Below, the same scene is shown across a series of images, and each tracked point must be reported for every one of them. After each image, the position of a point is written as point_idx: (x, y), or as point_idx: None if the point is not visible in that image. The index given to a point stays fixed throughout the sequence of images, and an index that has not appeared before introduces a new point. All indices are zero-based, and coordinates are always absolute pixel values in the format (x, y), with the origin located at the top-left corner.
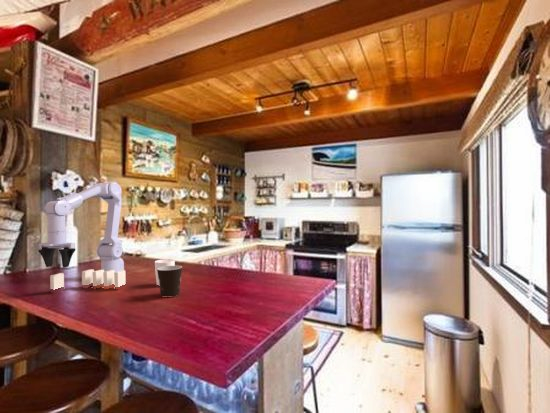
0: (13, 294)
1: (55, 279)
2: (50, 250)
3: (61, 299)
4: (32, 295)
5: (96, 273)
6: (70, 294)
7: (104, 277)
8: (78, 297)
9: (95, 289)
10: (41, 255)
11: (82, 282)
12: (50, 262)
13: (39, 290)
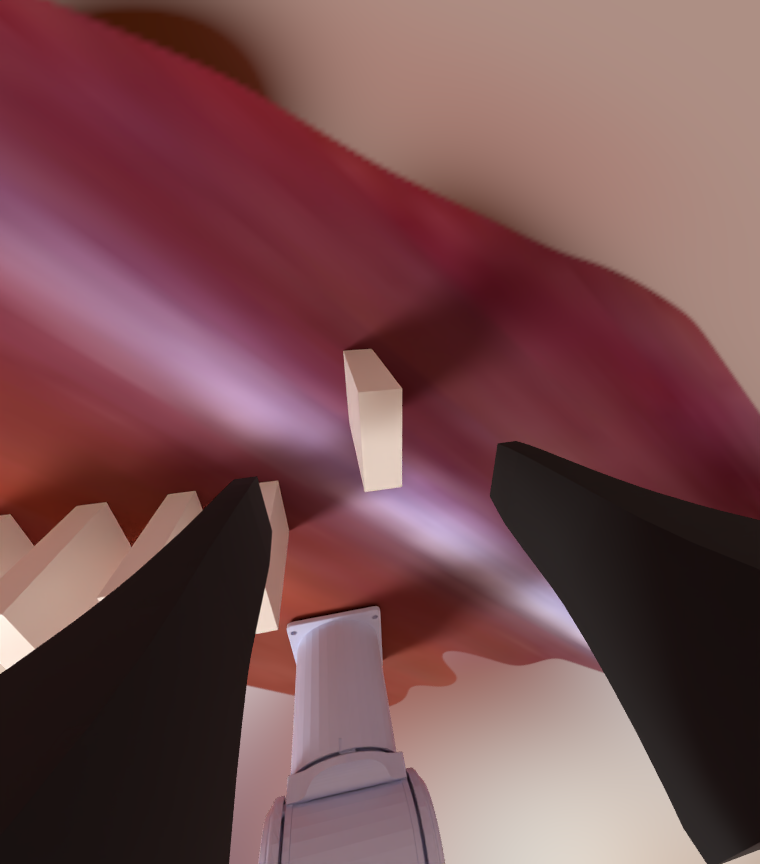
0: (606, 285)
1: (355, 396)
2: (713, 735)
3: (115, 235)
4: (461, 289)
5: (108, 588)
6: (209, 367)
7: (32, 572)
8: (40, 314)
9: (172, 492)
10: (746, 518)
11: (270, 507)
12: (522, 512)
13: (512, 393)
